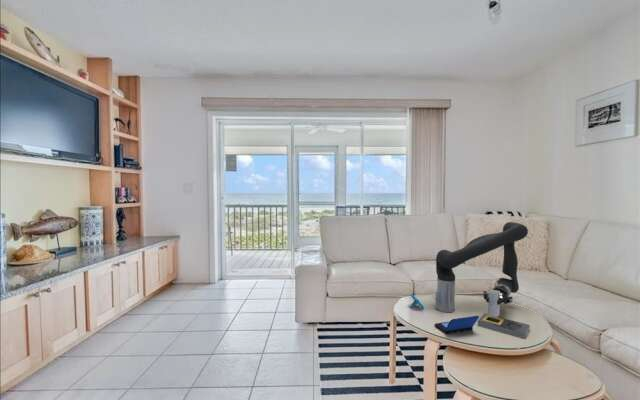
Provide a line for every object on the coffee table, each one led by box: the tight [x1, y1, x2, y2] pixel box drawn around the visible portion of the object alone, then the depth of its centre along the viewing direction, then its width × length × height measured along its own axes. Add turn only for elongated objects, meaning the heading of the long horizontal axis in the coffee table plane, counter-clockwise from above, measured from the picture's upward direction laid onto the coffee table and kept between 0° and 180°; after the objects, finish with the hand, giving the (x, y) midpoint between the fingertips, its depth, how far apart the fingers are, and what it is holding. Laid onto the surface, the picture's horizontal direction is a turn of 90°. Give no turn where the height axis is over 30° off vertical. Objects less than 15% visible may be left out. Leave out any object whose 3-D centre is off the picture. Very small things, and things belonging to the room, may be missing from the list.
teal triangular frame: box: [410, 294, 425, 310], centre depth 179 cm, size 11×6×10 cm
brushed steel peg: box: [488, 289, 501, 317], centre depth 156 cm, size 4×4×12 cm
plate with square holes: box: [477, 313, 531, 340], centre depth 154 cm, size 20×12×3 cm, turn 48°
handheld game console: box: [434, 315, 480, 335], centre depth 151 cm, size 16×13×9 cm
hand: (492, 301), depth 154 cm, fingers closed on brushed steel peg, 4 cm apart
